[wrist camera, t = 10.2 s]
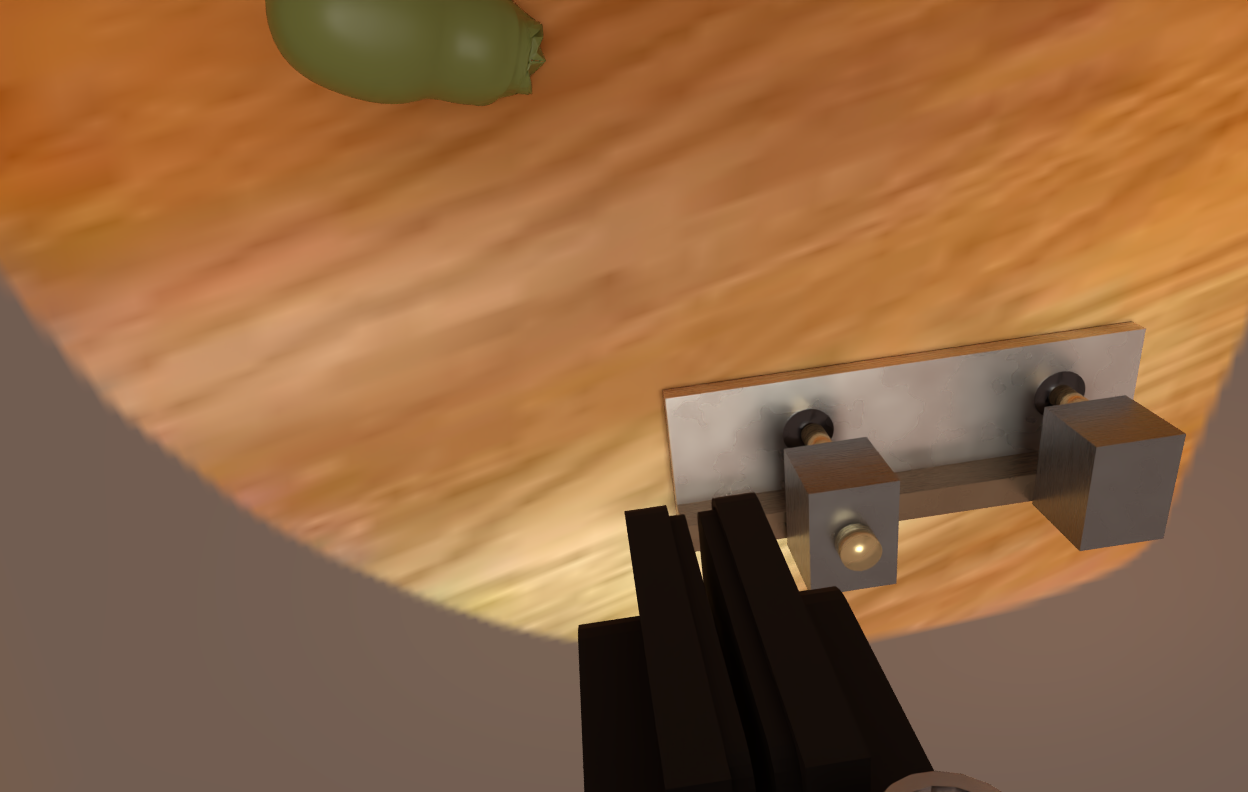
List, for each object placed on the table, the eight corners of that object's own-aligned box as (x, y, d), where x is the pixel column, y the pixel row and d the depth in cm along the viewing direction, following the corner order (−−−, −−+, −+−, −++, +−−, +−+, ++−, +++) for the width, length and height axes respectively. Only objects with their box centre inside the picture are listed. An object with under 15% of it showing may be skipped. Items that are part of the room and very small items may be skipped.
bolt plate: (1132, 321, 39) (1242, 377, 33) (1108, 457, 43) (1204, 531, 37) (662, 390, 39) (683, 460, 33) (677, 522, 42) (698, 609, 36)
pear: (257, -102, 24) (566, -19, 28) (280, -86, 29) (543, -16, 32) (251, 85, 27) (539, 142, 30) (273, 73, 31) (520, 123, 34)
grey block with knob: (852, 417, 39) (909, 493, 33) (851, 510, 41) (905, 597, 35) (772, 429, 39) (815, 507, 33) (777, 522, 41) (817, 611, 35)
